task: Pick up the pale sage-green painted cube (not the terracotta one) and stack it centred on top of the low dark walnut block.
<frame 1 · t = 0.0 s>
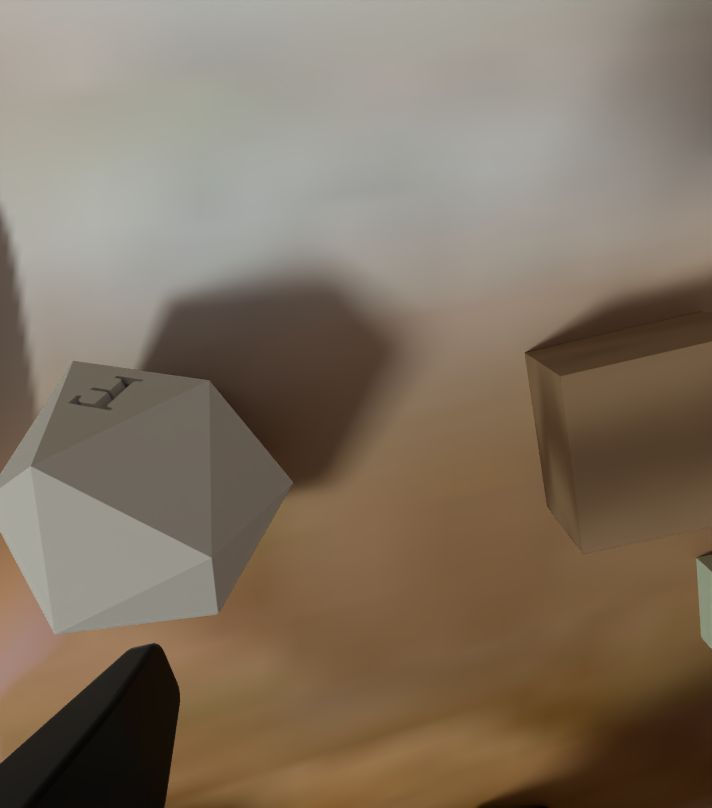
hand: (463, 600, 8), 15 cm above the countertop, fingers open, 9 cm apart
die: (180, 445, 23), on the countertop
walnut base: (617, 412, 23), on the countertop
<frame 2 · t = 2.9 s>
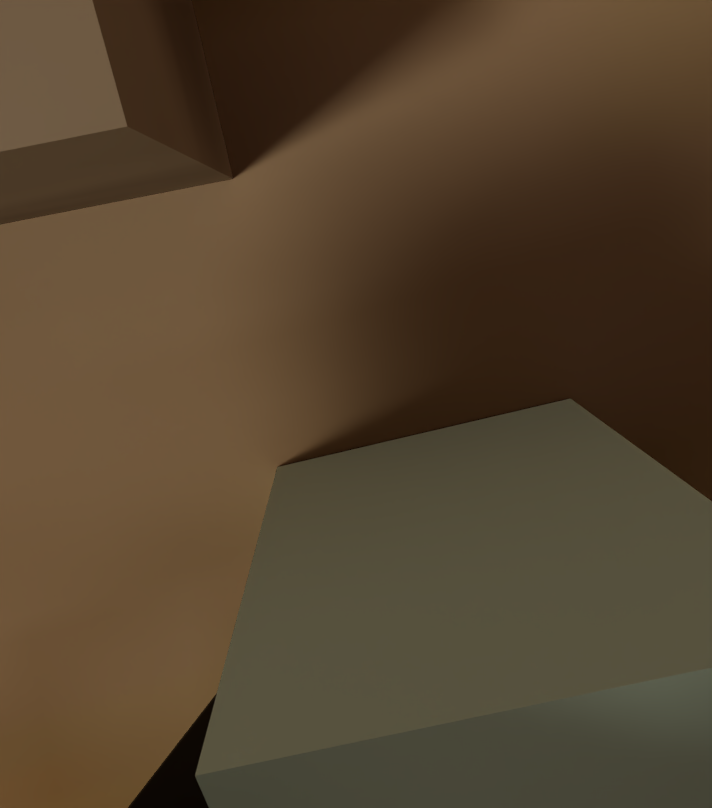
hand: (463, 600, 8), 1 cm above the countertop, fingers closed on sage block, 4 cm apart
sage block: (449, 559, 9), on the countertop, touching gripper
when the fingers open (6 cm above the countertop, at t = 5.6 s): sage block drops 2 cm, resting on walnut base.
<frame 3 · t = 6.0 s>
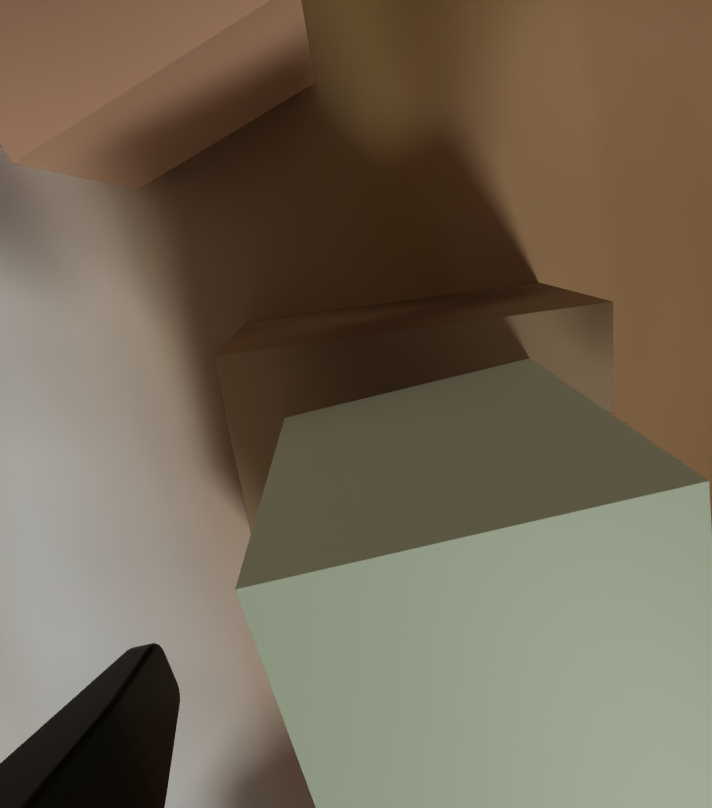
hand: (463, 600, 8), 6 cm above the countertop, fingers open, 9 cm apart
sage block: (430, 497, 11), point 4 cm above the countertop, touching walnut base
walnut base: (406, 435, 14), on the countertop, touching sage block
terracotta block: (166, 32, 11), on the countertop
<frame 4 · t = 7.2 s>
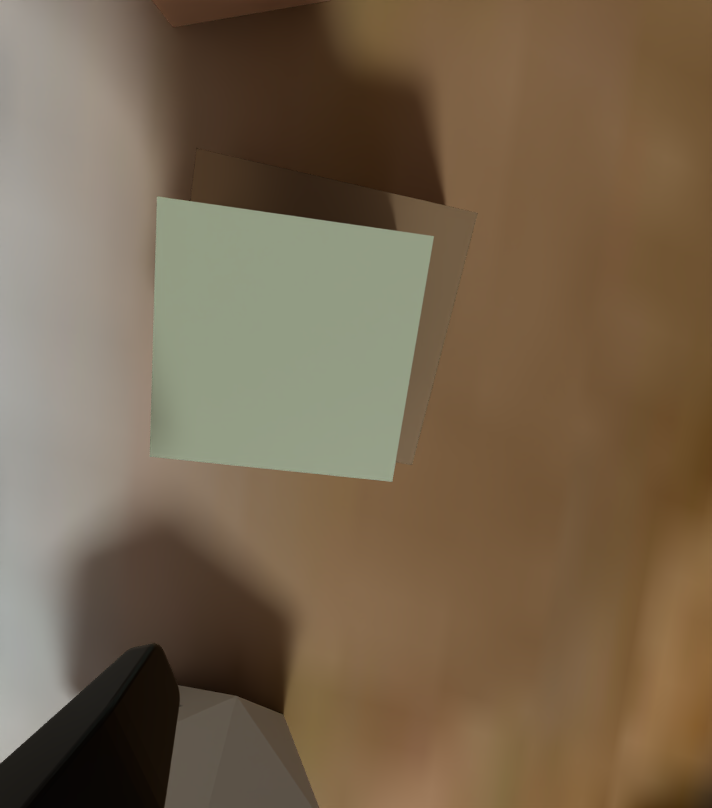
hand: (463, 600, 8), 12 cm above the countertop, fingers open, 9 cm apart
die: (212, 721, 23), on the countertop
sage block: (298, 310, 14), point 4 cm above the countertop
walnut base: (317, 301, 18), on the countertop
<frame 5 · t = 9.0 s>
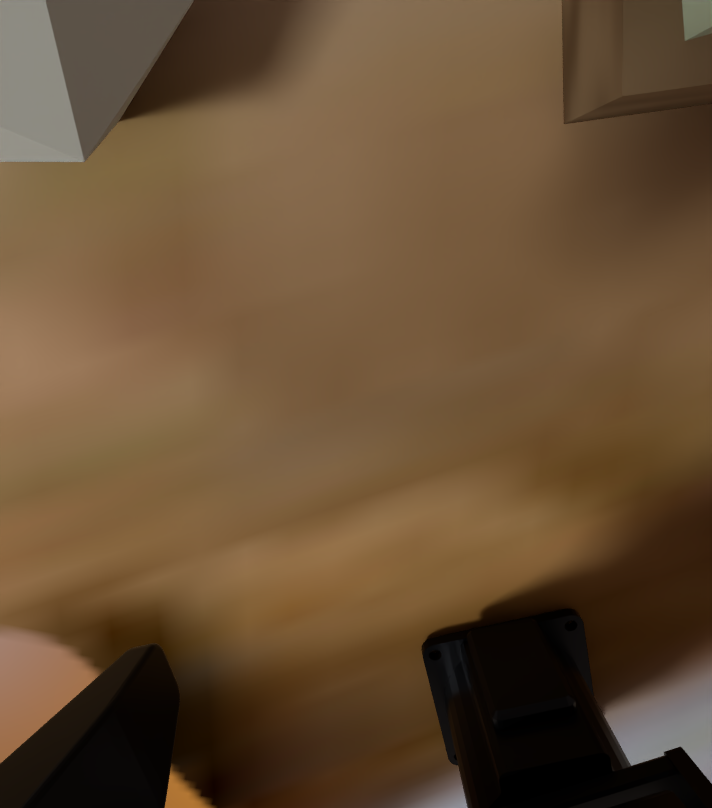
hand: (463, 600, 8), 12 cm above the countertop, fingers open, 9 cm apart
die: (60, 20, 16), on the countertop
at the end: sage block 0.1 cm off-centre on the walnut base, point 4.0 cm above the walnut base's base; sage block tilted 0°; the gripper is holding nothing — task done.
